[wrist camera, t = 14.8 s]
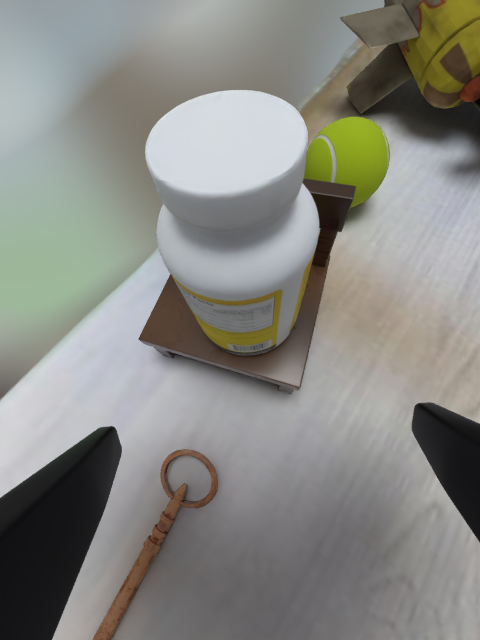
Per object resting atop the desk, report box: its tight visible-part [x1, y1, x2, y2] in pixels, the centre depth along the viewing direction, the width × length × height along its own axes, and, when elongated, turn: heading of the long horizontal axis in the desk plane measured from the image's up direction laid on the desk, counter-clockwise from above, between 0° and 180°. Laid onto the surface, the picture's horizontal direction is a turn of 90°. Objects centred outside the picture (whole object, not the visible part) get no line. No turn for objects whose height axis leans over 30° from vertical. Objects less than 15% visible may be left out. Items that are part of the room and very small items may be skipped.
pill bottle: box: [145, 90, 319, 355], centre depth 13 cm, size 6×6×12 cm
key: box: [93, 449, 217, 640], centre depth 15 cm, size 6×1×15 cm
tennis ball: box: [304, 117, 390, 208], centre depth 24 cm, size 7×7×7 cm
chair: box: [139, 178, 356, 394], centre depth 18 cm, size 10×11×10 cm
